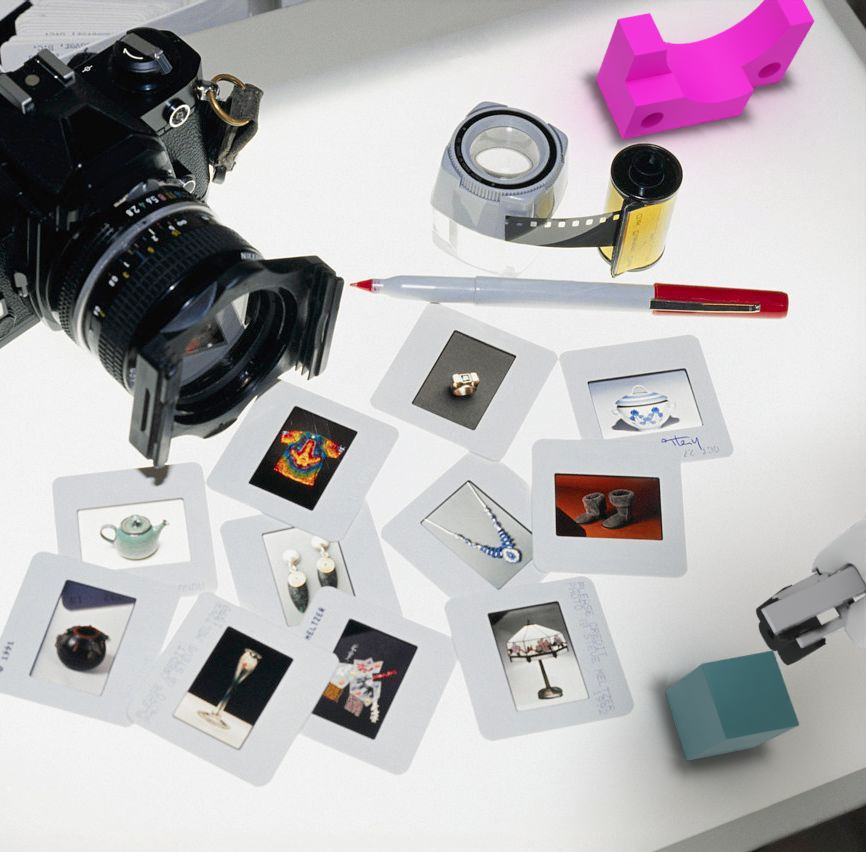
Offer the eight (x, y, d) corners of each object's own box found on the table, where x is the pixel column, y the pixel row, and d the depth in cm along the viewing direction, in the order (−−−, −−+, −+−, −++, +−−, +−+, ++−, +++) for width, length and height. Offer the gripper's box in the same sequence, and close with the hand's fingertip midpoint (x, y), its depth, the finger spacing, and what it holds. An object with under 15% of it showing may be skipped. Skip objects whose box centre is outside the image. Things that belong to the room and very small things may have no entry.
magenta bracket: (621, 142, 100) (646, 80, 93) (594, 83, 102) (617, 19, 95) (790, 108, 101) (827, 45, 95) (760, 50, 104) (795, -15, 97)
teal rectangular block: (728, 679, 82) (773, 650, 74) (751, 748, 80) (800, 725, 72) (662, 692, 81) (701, 663, 74) (684, 761, 79) (726, 739, 72)
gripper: (910, 646, 46) (747, 732, 61) (1278, 491, 49) (1033, 610, 64) (805, 473, 48) (675, 596, 64) (1158, 336, 51) (952, 486, 67)
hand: (854, 603), depth 64 cm, fingers open, 9 cm apart
